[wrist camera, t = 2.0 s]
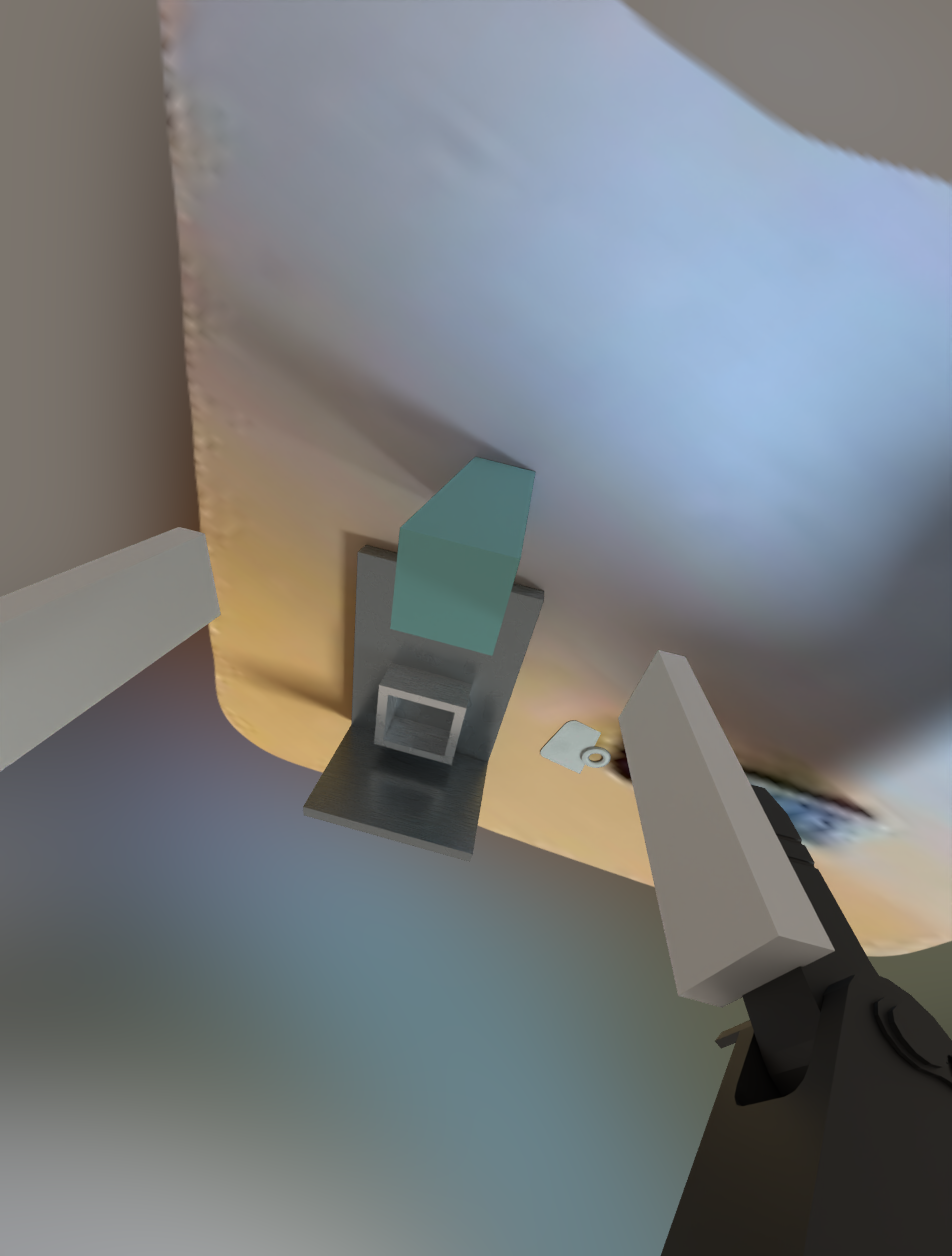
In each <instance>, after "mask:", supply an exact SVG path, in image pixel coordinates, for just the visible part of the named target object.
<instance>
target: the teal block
mask: <svg viewBox="0 0 952 1256" xmlns="http://www.w3.org/2000/svg"><path fill="white" fill-rule="evenodd" d="M534 478H535V472H534V471H530V470H526V469H522V468H518V467H514V466H510V465H506V464H503V463H499V462H495V461H491V460H487V459H483V458H479V457H475V458H474V459H472V460H471V461H470V462H469V463H468V464H467V465H466V466H465V467H464V468H463V469H462V470H461V471H460V472H459V473H458V474H457V475H456V476H454V477H453V478H452V479H451V480H450V481H449V482H448V483H447V484H446V485H445V486H444V487H443V488H442V489H441V490H440V491H439V492H438V493H437V494H435V495H434V496H433V497H432V498H431V499H430V500H429V501H428V502H427V503H426V504H425V505H424V506H423V507H422V508H421V509H420V510H419V511H417V512H416V513H415V514H414V515H413V516H412V517H411V518H410V519H409V520H408V521H407V522H406V523H405V524H404V525H403V526H402V527H401V528H400V534H399V544H398V554H397V565H396V575H395V585H394V596H393V606H392V616H391V627H390V629H393V630H397V631H401V632H404V633H408V634H412V635H416V636H419V637H423V638H427V639H431V640H435V641H438V642H442V643H446V644H450V645H453V646H457V647H461V648H465V649H469V650H472V651H476V652H480V653H484V654H487V655H491V656H493V652H494V649H495V645H496V642H497V638H498V635H499V632H500V628H501V625H502V621H503V618H504V614H505V611H506V607H507V604H508V600H509V597H510V593H511V590H512V586H513V583H514V579H515V576H516V572H517V569H518V565H519V562H520V558H521V552H522V547H523V541H524V535H525V529H526V524H527V518H528V512H529V506H530V501H531V495H532V489H533V483H534Z"/></svg>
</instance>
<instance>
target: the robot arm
mask: <svg viewBox="0 0 952 1256" xmlns="http://www.w3.org/2000/svg"><path fill="white" fill-rule="evenodd" d="M219 615H221V614H220V609H219V604H218V599H217V594H216V588H215V583H214V578H213V573H212V568H211V563H210V558H209V553H208V548H207V543H206V538H205V534H204V533H200V532H196V531H192V530H189V529H185V528H180V527H178V528H175V529H172V530H170V531H167V532H165V533H162V534H160V535H157V536H155V537H152V538H149V539H147V540H144V541H142V542H139V543H137V544H134V545H132V546H129V547H127V548H124V549H121V550H119V551H116V552H114V553H111V554H109V555H106V556H104V557H101V558H98V559H96V560H93V561H91V562H88V563H86V564H83V565H81V566H78V567H75V568H73V569H70V570H68V571H65V572H63V573H60V574H58V575H55V576H53V577H50V578H47V579H45V580H43V581H40V582H37V583H35V584H32V585H30V586H27V587H24V588H22V589H20V590H17V591H14V592H12V593H9V594H7V595H4V596H2V597H0V771H2V770H3V769H4V768H6V767H7V766H9V765H10V764H11V763H13V762H14V761H16V760H17V759H19V758H20V757H21V756H23V755H24V754H25V753H27V752H28V751H30V750H31V749H33V748H34V747H35V746H37V745H38V744H40V743H41V742H42V741H44V740H45V739H47V738H48V737H49V736H51V735H52V734H54V733H55V732H56V731H58V730H59V729H61V728H62V727H63V726H65V725H66V724H68V723H69V722H70V721H72V720H73V719H75V718H76V717H77V716H79V715H80V714H82V713H83V712H85V711H86V710H87V709H89V708H90V707H92V706H93V705H94V704H96V703H97V702H99V701H100V700H101V699H103V698H104V697H106V696H107V695H108V694H110V693H111V692H112V691H114V690H115V689H117V688H118V687H120V686H121V685H122V684H124V683H125V682H127V681H128V680H129V679H131V678H132V677H134V676H135V675H136V674H138V673H139V672H141V671H142V670H144V669H145V668H146V667H148V666H149V665H151V664H152V663H153V662H155V661H156V660H157V659H159V658H160V657H162V656H163V655H165V654H166V653H167V652H169V651H170V650H172V649H173V648H174V647H176V646H177V645H179V644H180V643H181V642H183V641H184V640H186V639H187V638H189V637H190V636H191V635H193V634H194V633H196V632H197V631H198V630H200V629H201V628H203V627H204V626H205V625H207V624H208V623H210V622H211V621H212V620H214V619H215V618H217V617H218V616H219ZM618 719H619V723H620V728H621V732H622V737H623V742H624V746H625V751H626V756H627V760H628V765H629V769H630V774H631V779H632V783H633V788H634V793H635V797H636V802H637V806H638V811H639V816H640V820H641V825H642V830H643V834H644V839H645V843H646V848H647V853H648V857H649V862H650V867H651V871H652V876H653V880H654V885H655V889H656V894H657V899H658V903H659V908H660V912H661V917H662V922H663V927H664V931H665V936H666V940H667V945H668V950H669V954H670V959H671V963H672V968H673V973H674V977H675V982H676V987H677V991H678V996H682V997H685V998H689V999H693V1000H696V1001H700V1002H704V1003H707V1004H711V1005H715V1006H718V1007H724V1006H726V1005H728V1004H730V1003H732V1002H734V1001H736V1000H738V999H740V998H742V997H743V999H744V1002H745V1005H746V1008H747V1011H748V1014H749V1018H750V1020H749V1021H746V1022H744V1023H742V1024H739V1025H737V1026H735V1027H733V1028H731V1029H728V1030H726V1031H723V1032H722V1033H721V1034H720V1035H719V1037H718V1038H717V1039H716V1040H715V1042H716V1043H717V1044H718V1045H719V1046H720V1048H723V1047H726V1046H729V1045H731V1044H734V1043H736V1044H735V1046H734V1049H733V1052H732V1055H731V1058H730V1061H729V1063H728V1066H727V1069H726V1072H725V1075H724V1077H723V1080H722V1083H721V1086H720V1089H719V1092H718V1094H717V1098H716V1100H715V1103H714V1106H713V1109H712V1112H711V1114H710V1117H709V1120H708V1123H707V1126H706V1129H705V1131H704V1134H703V1137H702V1140H701V1143H700V1146H699V1148H698V1151H697V1154H696V1157H695V1160H694V1163H693V1166H692V1168H691V1171H690V1174H689V1177H688V1180H687V1182H686V1185H685V1188H684V1191H683V1194H682V1197H681V1199H680V1202H679V1205H678V1208H677V1211H676V1214H675V1217H674V1220H673V1223H672V1225H671V1228H670V1231H669V1234H668V1237H667V1239H666V1242H665V1245H664V1248H663V1251H662V1254H661V1256H952V1040H951V1039H950V1038H949V1037H948V1035H947V1034H946V1033H945V1031H944V1030H943V1029H942V1028H941V1026H940V1025H939V1024H938V1022H937V1021H936V1020H935V1018H934V1017H933V1016H931V1014H930V1013H928V1011H926V1010H925V1009H924V1008H923V1007H922V1006H921V1005H920V1004H919V1003H918V1002H917V1001H916V1000H915V999H914V998H913V997H912V996H911V995H910V994H908V993H907V992H906V991H904V990H902V989H901V988H900V987H898V986H897V985H895V984H894V983H893V982H891V981H890V980H888V979H886V978H883V977H881V976H879V975H878V974H877V972H876V971H875V969H874V967H873V966H872V964H871V963H870V961H869V959H868V957H867V956H866V954H865V952H864V950H863V948H862V947H861V945H860V943H859V941H858V940H857V938H856V936H855V934H854V932H853V931H852V929H851V927H850V925H849V923H848V922H847V920H846V918H845V916H844V915H843V913H842V911H841V909H840V907H839V906H838V904H837V902H836V900H835V898H834V897H833V895H832V893H831V891H830V890H829V888H828V886H827V884H826V882H825V881H824V879H823V877H822V875H821V873H820V872H819V870H818V869H816V868H815V867H814V861H813V859H812V857H811V856H810V854H809V852H808V850H807V848H806V847H805V845H802V844H801V841H802V840H801V838H800V836H799V834H798V832H797V831H796V829H795V827H794V825H793V823H792V822H791V820H790V818H789V816H788V814H787V813H786V812H785V811H784V810H783V808H782V807H781V806H780V805H779V804H778V803H777V802H776V801H775V799H774V798H773V797H772V796H771V795H770V794H769V793H768V791H767V790H766V789H765V788H762V787H758V786H754V785H750V783H749V781H748V779H747V777H746V775H745V773H744V771H743V769H742V767H741V765H740V763H739V761H738V759H737V757H736V755H735V753H734V751H733V749H732V747H731V745H730V743H729V741H728V739H727V737H726V735H725V734H724V732H723V730H722V728H721V726H720V724H719V722H718V720H717V718H716V716H715V714H714V712H713V710H712V708H711V706H710V704H709V702H708V700H707V698H706V696H705V694H704V692H703V690H702V688H701V686H700V684H699V682H698V681H697V679H696V677H695V675H694V673H693V671H692V669H691V667H690V665H689V663H688V661H687V659H686V657H685V656H681V655H677V654H673V653H669V652H665V651H661V650H658V651H657V653H656V655H655V656H654V658H653V660H652V661H651V663H650V665H649V667H648V668H647V670H646V672H645V673H644V675H643V677H642V678H641V680H640V682H639V684H638V685H637V687H636V689H635V690H634V692H633V694H632V696H631V697H630V699H629V701H628V702H627V704H626V706H625V707H624V709H623V711H622V713H621V714H620V716H619V718H618Z"/></svg>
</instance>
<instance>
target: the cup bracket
mask: <svg viewBox="0 0 952 1256" xmlns="http://www.w3.org/2000/svg"><path fill="white" fill-rule="evenodd" d="M397 554H398V553H395V552H391V551H387V550H383V549H379V548H376V547H372V546H368V545H365V546H364V547H363V548H362V549H361V550H360V551H358V559H357V587H356V615H355V643H354V671H353V699H352V725H351V726H350V728H349V730H348V731H347V733H346V735H345V737H344V738H343V740H342V742H341V743H340V745H339V747H338V748H337V750H336V752H335V754H334V755H333V757H332V759H331V760H330V762H329V764H328V765H327V767H326V769H325V771H324V772H323V774H322V776H321V777H320V779H319V781H318V782H317V784H316V786H315V788H314V789H313V791H312V793H311V794H310V796H309V798H308V800H307V801H306V803H305V805H304V806H303V811H304V815H305V816H309V817H313V818H316V819H320V820H323V821H327V822H330V823H334V824H338V825H341V826H344V827H348V828H352V829H355V830H359V831H362V832H366V833H369V834H373V835H377V836H380V837H384V838H387V839H391V840H395V841H398V842H402V843H405V844H409V845H412V846H416V847H419V848H423V849H426V850H430V851H434V852H437V853H441V854H445V855H448V856H451V857H455V858H459V859H462V860H466V861H470V860H471V857H472V855H473V849H474V843H475V836H476V830H477V825H478V819H479V813H480V807H481V801H482V795H483V789H484V783H485V777H486V771H487V765H488V760H489V757H490V754H491V752H492V749H493V746H494V743H495V740H496V737H497V734H498V731H499V728H500V725H501V723H502V720H503V717H504V714H505V711H506V708H507V705H508V702H509V699H510V697H511V694H512V691H513V688H514V685H515V682H516V679H517V676H518V673H519V671H520V668H521V665H522V662H523V659H524V656H525V653H526V650H527V647H528V645H529V642H530V639H531V636H532V633H533V630H534V627H535V624H536V621H537V619H538V616H539V613H540V610H541V607H542V604H543V601H544V591H541V590H537V589H533V588H530V587H526V586H522V585H518V584H514V583H513V586H512V590H511V593H510V597H509V600H508V604H507V607H506V611H505V614H504V618H503V621H502V625H501V628H500V632H499V635H498V638H497V642H496V645H495V649H494V652H493V656H491V655H487V654H484V653H480V652H476V651H472V650H469V649H465V648H461V647H457V646H453V645H450V644H446V643H442V642H438V641H435V640H431V639H427V638H423V637H419V636H416V635H412V634H408V633H404V632H401V631H397V630H393V629H390V627H391V616H392V606H393V596H394V585H395V575H396V565H397Z"/></svg>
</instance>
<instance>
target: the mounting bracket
mask: <svg viewBox="0 0 952 1256" xmlns="http://www.w3.org/2000/svg"><path fill="white" fill-rule="evenodd" d="M600 734H601V733H600V732H598V731H596V730H594V729H592V728H590V727H588V726H586V725H584V724H582V723H580V722H578V721H576V720H575V721H569V722H567V723H566V724H565V725H564V726H563V727H562V728H561V729H560V730H559V731H558V732H557V733H556V734H555V735H554V736H553V737H552V738H551V739H550V740H549V742H548V743H547V744H546V745H545V746H544V747H543V748H542V749H541V755H542V757H544V758H547V759H549V760H551V761H553V762H555V763H558V764H560V765H562V766H564V767H566V768H568V769H571V770H573V771H575V772H577V773H579V774H580V773H581V771H582V769H583V767H584V765H585V764H586V765H587V766H590V767H595V768H599V767H603V766H605V765H607V764H608V763H609V761H610V756H611V755H610V753H609V752H608V751H607V750H606V749H604V748H601V747H594V746H595V744H596V742H597V740H598V738H599V736H600ZM594 753H598V754H601V755H602V756H603V759H602V760H601V761H598V762H594V761H591V760H590V759H589V756H590V755H591V754H594Z"/></svg>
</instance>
